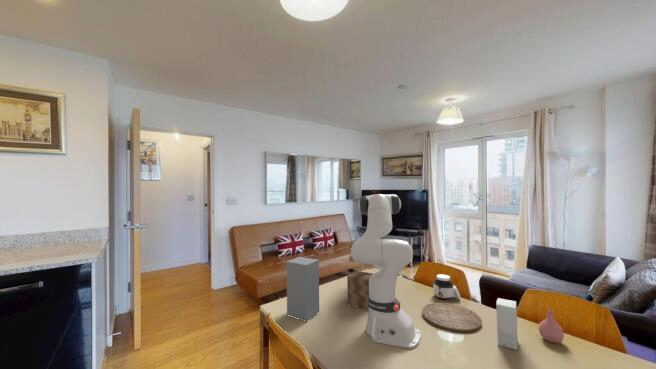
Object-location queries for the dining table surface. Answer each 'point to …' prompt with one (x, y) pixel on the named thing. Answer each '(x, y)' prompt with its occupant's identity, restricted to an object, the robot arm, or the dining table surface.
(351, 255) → the oak bar
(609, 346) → the dining table surface
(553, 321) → the pink teardrop-shaped piece
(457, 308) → the trivet
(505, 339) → the skincare box
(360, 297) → the walnut block
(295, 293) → the tall stand
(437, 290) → the spread jar
